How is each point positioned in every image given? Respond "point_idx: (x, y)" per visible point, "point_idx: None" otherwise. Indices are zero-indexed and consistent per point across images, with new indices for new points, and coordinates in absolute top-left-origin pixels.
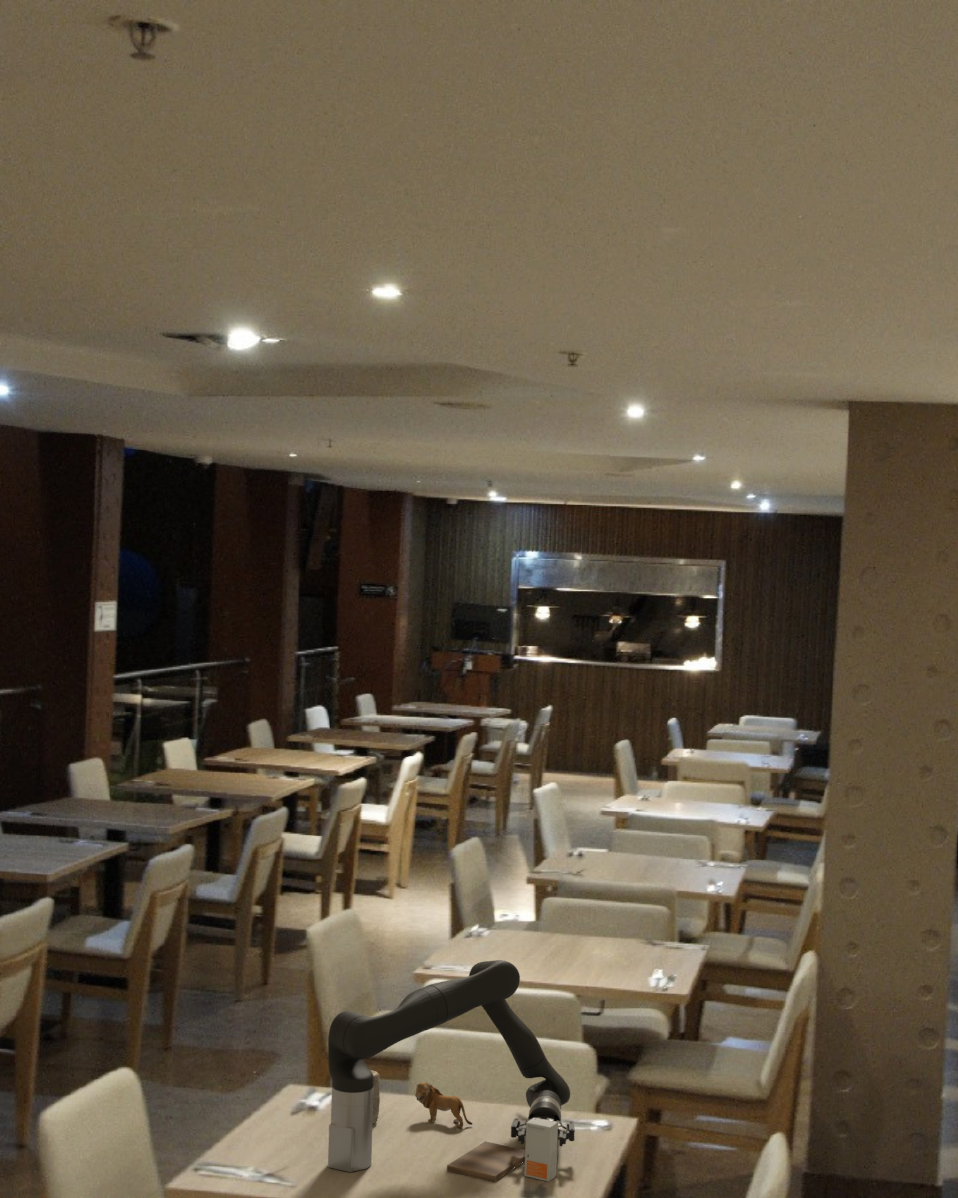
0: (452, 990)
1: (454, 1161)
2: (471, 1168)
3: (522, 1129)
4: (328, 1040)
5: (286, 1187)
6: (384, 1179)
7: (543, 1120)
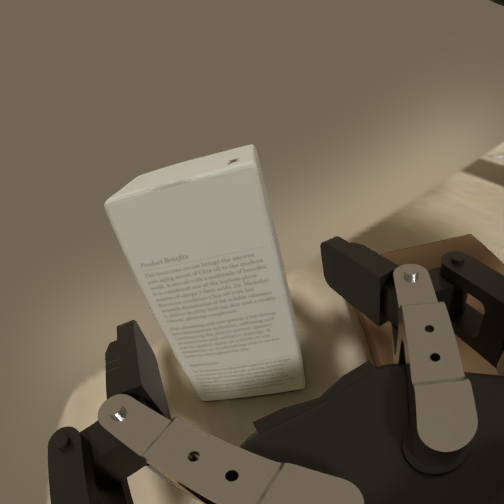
0: None
1: (486, 249)
2: (424, 252)
3: (386, 266)
4: None
5: (488, 154)
6: (474, 190)
7: (183, 173)
